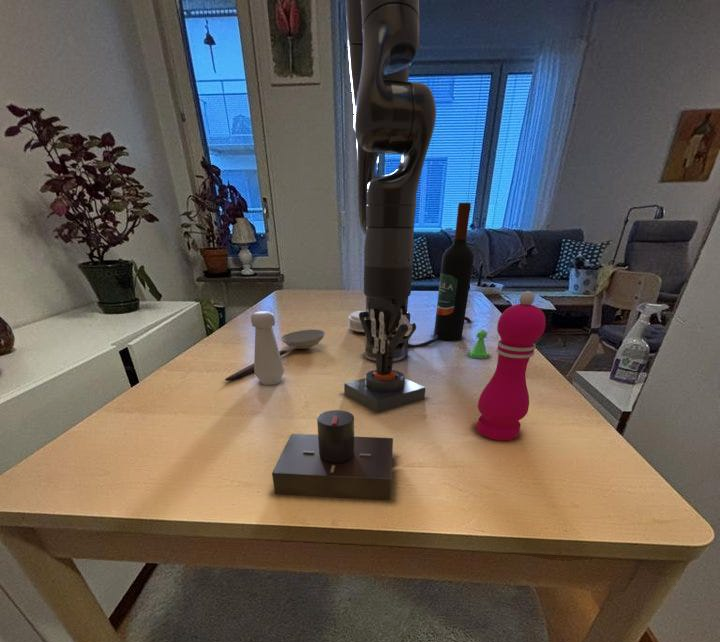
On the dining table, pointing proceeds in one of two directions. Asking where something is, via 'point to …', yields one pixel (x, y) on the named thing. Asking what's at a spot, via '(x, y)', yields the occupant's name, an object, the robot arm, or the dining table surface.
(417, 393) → the button block
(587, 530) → the dining table surface
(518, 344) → the pepper mill
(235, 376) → the spoon
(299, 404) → the dining table surface
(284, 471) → the dial panel
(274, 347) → the salt shaker
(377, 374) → the button
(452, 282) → the wine bottle
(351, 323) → the lid
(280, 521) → the dining table surface
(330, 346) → the dining table surface
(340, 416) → the dial
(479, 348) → the game piece
